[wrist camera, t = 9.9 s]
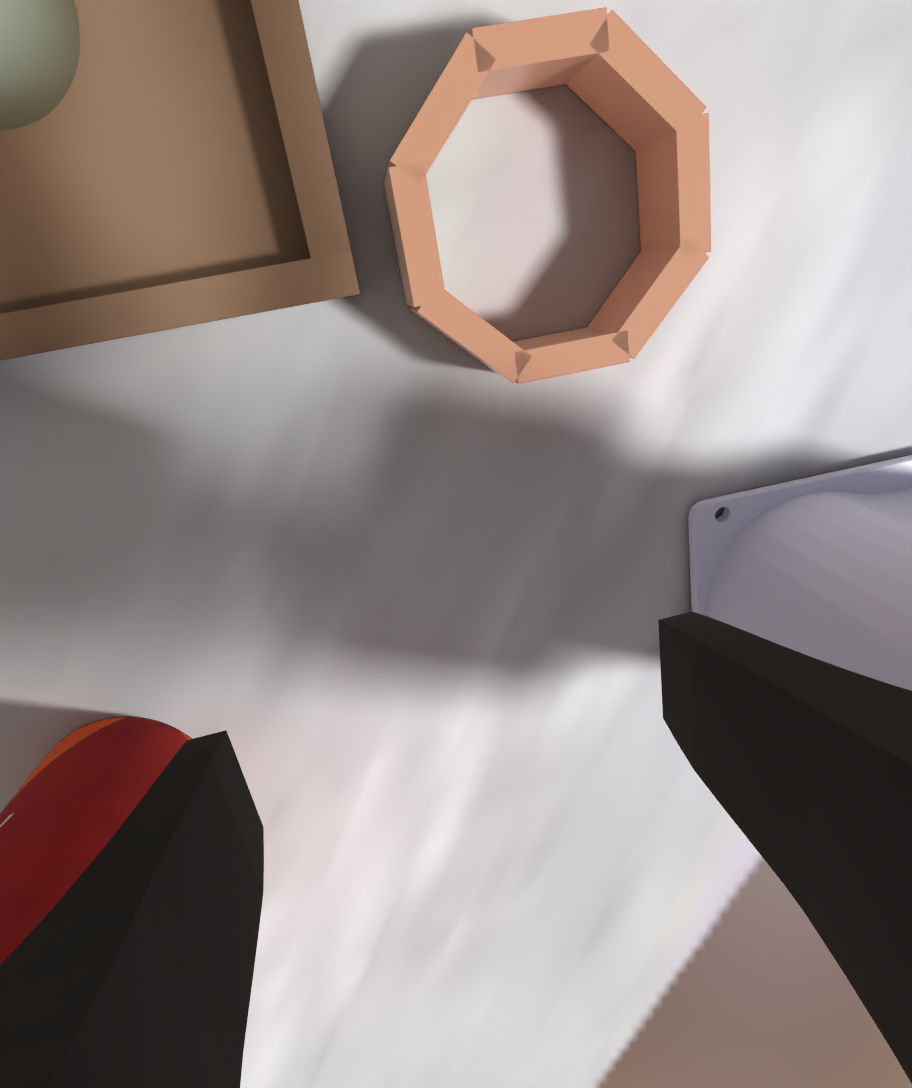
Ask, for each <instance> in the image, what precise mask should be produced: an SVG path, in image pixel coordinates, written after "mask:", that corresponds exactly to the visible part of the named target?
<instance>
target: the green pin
mask: <svg viewBox="0 0 912 1088" xmlns="http://www.w3.org/2000/svg"><path fill="white" fill-rule="evenodd" d="M79 51H80V30H79V21H78V15H77V10H76V6H75V3H74V0H0V130H8V129H16V128H19V127H23V126H27V125H29V124H31V123H34V122H36V121H38V120H40V119H41V118H43V117H44V116H46V115H47V114H49V113H50V112H51V111H52V110H53V109H54V108H55V107H56V106H57V105H58V104H59V103H60V102H61V100H62V99H63V98H64V96H65V95H66V93H67V91H68V89H69V87H70V86H71V84H72V81H73V78H74V75H75V73H76V69H77V64H78V59H79Z"/></svg>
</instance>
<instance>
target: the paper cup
mask: <svg viewBox="0 0 912 1088" xmlns="http://www.w3.org/2000/svg"><path fill="white" fill-rule="evenodd" d="M191 739H192V738H190V737H189V736H188V735H186V734H185V733H183V732H182V731H180V730H178V729H176V728H174V727H172V726H170V725H167V724H164V723H162V722H158V721H155V720H150V719H145V718H137V717H115V718H108V719H103V720H99V721H95V722H92V723H89V724H87V725H84V726H82V727H80V728H78V729H76V730H75V731H73V732H71V733H70V734H69V735H67V736H66V737H65V738H64V739H62V740H61V741H60V742H59V743H58V744H57V745H56V746H55V747H54V748H53V749H52V750H51V751H50V753H49V754H48V755H47V756H46V757H45V758H44V759H43V761H42V762H41V763H40V764H39V766H38V767H37V768H36V769H35V771H34V772H33V773H32V774H31V776H30V777H29V778H28V779H27V780H26V782H25V783H24V784H23V785H22V787H21V788H20V789H19V791H18V792H17V793H16V794H15V796H14V797H13V798H12V800H11V801H10V802H9V803H8V805H7V806H6V807H5V808H4V810H3V811H2V812H1V814H0V964H1V963H2V962H3V961H4V960H5V959H6V958H7V957H8V956H9V955H10V954H11V953H12V952H13V951H14V950H15V949H16V948H17V947H18V946H19V945H20V944H21V942H22V941H23V940H24V939H25V938H26V937H27V936H28V935H29V934H30V933H31V932H32V931H33V930H34V928H35V927H36V926H37V925H38V924H39V923H40V922H41V921H42V920H43V919H44V917H45V916H46V915H47V914H48V913H49V912H50V911H51V910H52V908H53V907H54V906H55V905H56V904H57V902H58V901H59V900H60V899H61V898H62V897H63V895H64V894H65V893H66V892H67V891H68V889H69V888H70V887H71V886H72V885H73V884H74V882H75V881H76V880H77V879H78V878H79V876H80V875H81V874H82V873H83V872H84V871H85V869H86V868H87V867H88V866H89V865H90V863H91V862H92V861H93V860H94V859H95V857H96V856H97V855H98V854H99V853H100V852H101V850H102V849H103V848H104V847H105V845H106V844H107V843H108V842H109V840H110V839H111V838H112V837H113V835H114V834H115V833H116V831H117V830H118V829H119V828H120V826H121V825H122V824H123V822H124V821H125V820H126V819H127V817H128V816H129V815H130V813H131V812H132V811H133V810H134V808H135V807H136V806H137V804H138V803H139V802H140V801H141V799H142V798H143V797H144V795H145V794H146V793H147V791H148V790H149V789H150V787H151V786H152V785H153V783H154V782H155V781H156V779H157V778H158V777H159V775H160V774H161V773H162V771H163V770H164V769H165V767H166V766H167V765H168V763H169V762H170V761H171V760H172V758H173V757H174V756H175V754H176V753H177V752H178V751H179V749H180V748H181V747H182V746H183V744H184V743H185V742H186V741H187V740H191Z"/></svg>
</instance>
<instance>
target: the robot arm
mask: <svg viewBox="0 0 912 1088" xmlns="http://www.w3.org/2000/svg"><path fill="white" fill-rule="evenodd" d="M721 507H724V512H723V514H722V515H721V516H720V517H718V518H715V514H716V512H717V510H718V509H719V508H721ZM688 522H689V550H690V579H691V607H692V612H689V613H685V614H681V615H677V616H673V617H669V618H665V619H661V620H658V621H659V641H660V662H661V682H662V703H663V719H664V720H665V722H666V724H667V725H668V727H669V729H670V731H671V732H672V734H673V736H674V738H675V739H676V741H677V743H678V745H679V746H680V748H681V750H682V751H683V753H684V754H685V756H686V758H687V759H688V761H689V762H690V764H691V766H692V767H693V769H694V770H695V772H696V773H697V774H698V776H699V777H700V778H701V779H702V781H703V782H704V783H705V785H706V786H707V787H708V788H709V790H710V791H711V792H712V794H713V795H714V796H715V797H716V799H717V800H718V801H719V803H720V804H721V805H722V806H723V808H724V809H725V810H726V812H727V813H728V814H729V815H730V817H731V818H732V819H733V820H734V822H735V823H736V824H737V825H738V827H739V828H740V829H741V830H742V832H743V833H744V834H745V835H746V837H747V838H748V839H749V841H750V842H751V843H752V844H753V846H754V847H755V848H756V849H757V851H758V852H759V853H760V854H761V856H762V857H763V858H764V859H765V861H766V862H767V863H768V865H769V866H770V867H771V868H772V870H773V871H774V872H775V873H776V875H777V876H778V877H779V878H780V880H781V881H782V882H783V883H784V885H785V886H786V887H787V889H788V890H789V892H790V893H791V894H792V896H793V897H794V898H795V900H796V901H797V902H798V904H799V905H800V907H801V908H802V909H803V911H804V912H805V914H806V915H807V917H808V918H809V920H810V921H811V923H812V925H813V926H814V928H815V929H816V931H817V932H818V934H819V935H820V936H821V938H822V940H823V941H824V943H825V944H826V946H827V948H828V949H829V951H830V952H831V954H832V955H833V957H834V958H835V960H836V961H837V963H838V964H839V966H840V967H841V969H842V971H843V972H844V974H845V975H846V976H847V978H848V980H849V982H850V983H851V985H852V986H853V988H854V990H855V991H856V993H857V994H858V996H859V998H860V999H861V1001H862V1003H863V1004H864V1006H865V1007H866V1009H867V1011H868V1012H869V1014H870V1015H871V1017H872V1019H873V1020H874V1022H875V1023H876V1025H877V1027H878V1028H879V1030H880V1031H881V1033H882V1035H883V1036H884V1038H885V1040H886V1041H887V1043H888V1044H889V1046H890V1048H891V1049H892V1051H893V1053H894V1054H895V1056H896V1058H897V1059H898V1061H899V1063H900V1065H901V1066H902V1068H903V1070H904V1071H905V1073H906V1075H907V1076H908V1078H909V1080H910V1081H911V1083H912V455H909V456H904V457H900V458H895V459H890V460H886V461H881V462H876V463H872V464H867V465H863V466H858V467H853V468H849V469H844V470H840V471H835V472H830V473H826V474H821V475H816V476H812V477H807V478H803V479H798V480H793V481H789V482H784V483H779V484H775V485H770V486H766V487H761V488H756V489H752V490H747V491H742V492H738V493H733V494H729V495H724V496H719V497H715V498H710V499H706V500H702V501H699V502H697V503H696V504H695V505H694V506H692V508H691V510H690V512H689V517H688ZM263 873H264V846H263V825H262V823H261V820H260V817H259V815H258V812H257V810H256V807H255V804H254V802H253V799H252V796H251V794H250V791H249V789H248V786H247V783H246V781H245V778H244V776H243V773H242V770H241V768H240V765H239V762H238V760H237V757H236V755H235V752H234V749H233V747H232V744H231V742H230V739H229V736H228V734H227V731H222V732H218V733H214V734H210V735H206V736H203V737H199V738H195V739H191V740H187V741H186V742H185V743H184V744H183V746H182V747H181V748H180V749H179V751H178V752H177V753H176V754H175V756H174V757H173V758H172V760H171V761H170V762H169V763H168V765H167V766H166V767H165V769H164V770H163V771H162V773H161V774H160V775H159V777H158V778H157V779H156V781H155V782H154V783H153V785H152V786H151V787H150V789H149V790H148V791H147V793H146V794H145V795H144V797H143V798H142V799H141V801H140V802H139V803H138V804H137V806H136V807H135V808H134V810H133V811H132V812H131V813H130V815H129V816H128V817H127V819H126V820H125V821H124V822H123V824H122V825H121V826H120V828H119V829H118V830H117V831H116V833H115V834H114V835H113V837H112V838H111V839H110V840H109V842H108V843H107V844H106V845H105V847H104V848H103V849H102V850H101V852H100V853H99V854H98V855H97V856H96V857H95V859H94V860H93V861H92V862H91V863H90V865H89V866H88V867H87V868H86V869H85V871H84V872H83V873H82V874H81V875H80V876H79V878H78V879H77V880H76V881H75V882H74V884H73V885H72V886H71V887H70V888H69V889H68V891H67V892H66V893H65V894H64V895H63V897H62V898H61V899H60V900H59V901H58V902H57V904H56V905H55V906H54V907H53V908H52V910H51V911H50V912H49V913H48V914H47V915H46V916H45V917H44V919H43V920H42V921H41V922H40V923H39V924H38V925H37V926H36V927H35V928H34V930H33V931H32V932H31V933H30V934H29V935H28V936H27V937H26V938H25V939H24V940H23V941H22V942H21V944H20V945H19V946H18V947H17V948H16V949H15V950H14V951H13V952H12V953H11V954H10V955H9V956H8V957H7V958H6V959H5V960H4V961H3V962H2V963H1V964H0V1088H240V1080H241V1069H242V1058H243V1048H244V1040H245V1032H246V1025H247V1017H248V1009H249V1001H250V994H251V986H252V978H253V971H254V963H255V955H256V947H257V939H258V931H259V923H260V915H261V907H262V898H263Z"/></svg>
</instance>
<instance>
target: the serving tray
mask: <svg viewBox="0 0 912 1088" xmlns="http://www.w3.org/2000/svg"><path fill="white" fill-rule="evenodd" d="M74 3H75V6H76V10H77V15H78V21H79V30H80V51H79V59H78V64H77V69H76V73H75V75H74V78H73V81H72V84H71V86H70V87H69V89H68V91H67V93H66V95H65V96H64V98H63V99H62V100H61V102H60V103H59V104H58V105H57V106H56V107H55V108H54V109H53V110H52V111H51V112H50V113H49V114H47V115H46V116H44V117H43V118H41V119H40V120H38V121H36V122H34V123H31V124H29V125H27V126H23V127H19V128H16V129H8V130H0V360H5V359H10V358H16V357H21V356H27V355H32V354H37V353H43V352H48V351H54V350H59V349H65V348H70V347H75V346H81V345H86V344H92V343H97V342H103V341H108V340H113V339H119V338H124V337H130V336H135V335H141V334H146V333H151V332H157V331H162V330H168V329H173V328H179V327H184V326H189V325H195V324H200V323H206V322H211V321H217V320H222V319H227V318H233V317H238V316H244V315H249V314H255V313H260V312H265V311H271V310H276V309H282V308H287V307H293V306H298V305H303V304H309V303H314V302H320V301H325V300H331V299H336V298H341V297H347V296H352V295H358V294H360V291H359V286H358V281H357V276H356V272H355V267H354V262H353V257H352V253H351V248H350V243H349V238H348V234H347V229H346V224H345V219H344V215H343V210H342V205H341V200H340V196H339V191H338V186H337V182H336V177H335V172H334V167H333V163H332V158H331V153H330V148H329V144H328V139H327V134H326V129H325V125H324V120H323V115H322V110H321V106H320V101H319V96H318V91H317V87H316V82H315V77H314V72H313V68H312V63H311V58H310V54H309V49H308V44H307V39H306V35H305V30H304V25H303V20H302V16H301V11H300V6H299V1H298V0H74Z"/></svg>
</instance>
